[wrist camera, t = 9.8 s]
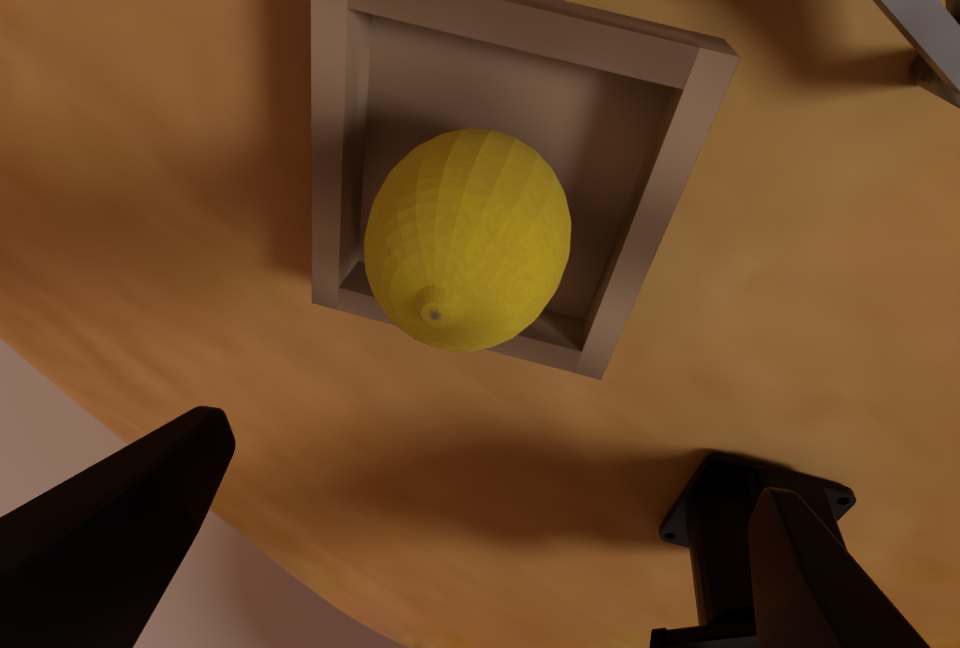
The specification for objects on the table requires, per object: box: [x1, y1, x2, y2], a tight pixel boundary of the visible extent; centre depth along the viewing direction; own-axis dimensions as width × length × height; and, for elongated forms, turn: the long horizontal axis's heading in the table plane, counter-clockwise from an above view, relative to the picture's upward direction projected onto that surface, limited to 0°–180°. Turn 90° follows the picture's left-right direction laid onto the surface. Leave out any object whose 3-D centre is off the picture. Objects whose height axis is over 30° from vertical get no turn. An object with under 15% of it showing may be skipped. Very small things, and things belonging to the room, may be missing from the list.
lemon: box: [364, 128, 571, 351], centre depth 16 cm, size 6×6×8 cm
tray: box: [311, 0, 740, 380], centre depth 18 cm, size 11×11×3 cm
